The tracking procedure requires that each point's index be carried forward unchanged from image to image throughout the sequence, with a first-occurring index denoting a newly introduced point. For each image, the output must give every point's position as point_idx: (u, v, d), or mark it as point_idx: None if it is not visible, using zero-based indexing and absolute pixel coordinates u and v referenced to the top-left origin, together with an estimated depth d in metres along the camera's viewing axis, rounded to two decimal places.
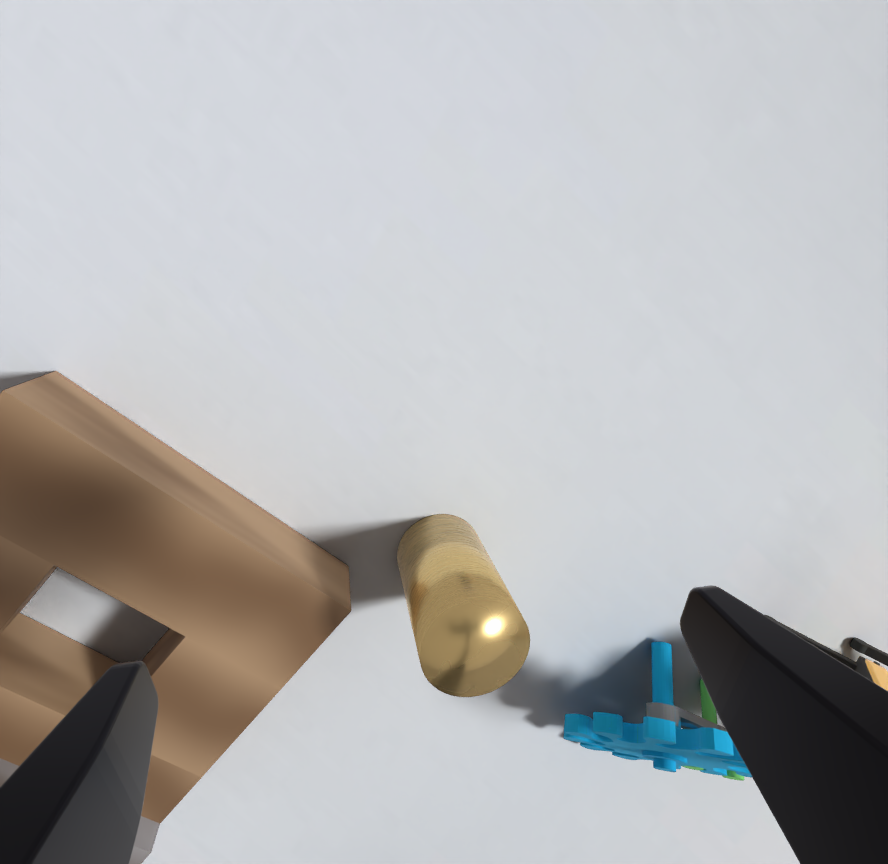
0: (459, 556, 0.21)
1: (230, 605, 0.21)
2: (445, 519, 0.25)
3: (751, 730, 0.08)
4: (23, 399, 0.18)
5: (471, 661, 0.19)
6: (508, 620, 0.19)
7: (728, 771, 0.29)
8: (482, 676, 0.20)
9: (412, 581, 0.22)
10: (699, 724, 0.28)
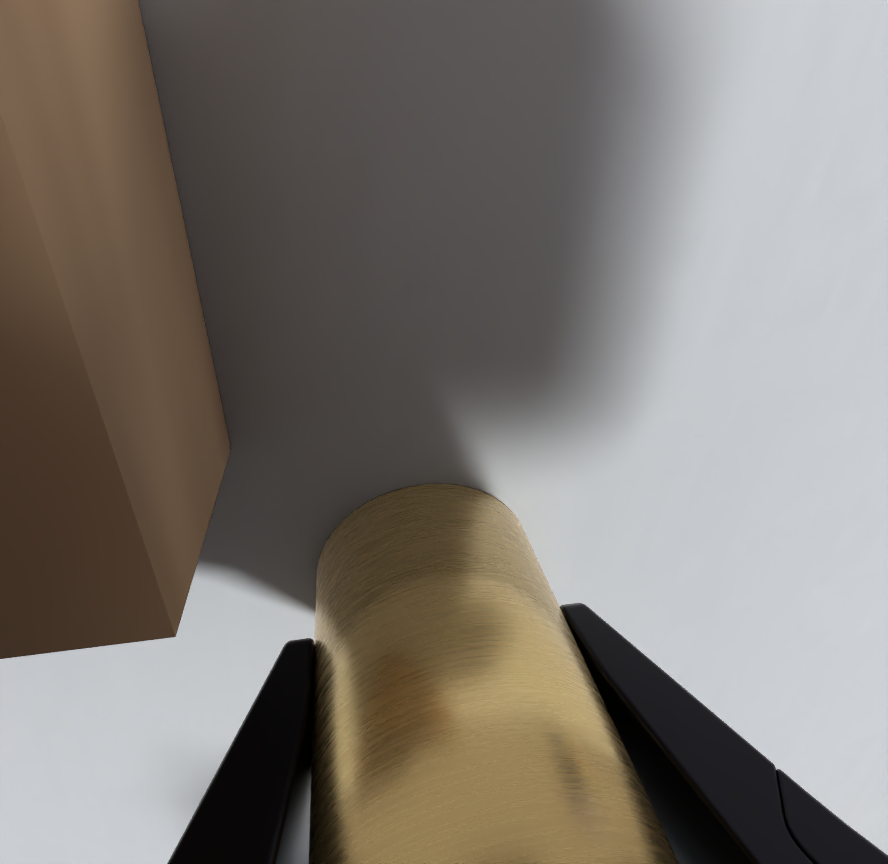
0: (601, 713, 0.06)
1: None
2: (522, 534, 0.09)
3: None
4: None
5: None
6: None
7: None
8: None
9: (432, 687, 0.06)
10: None
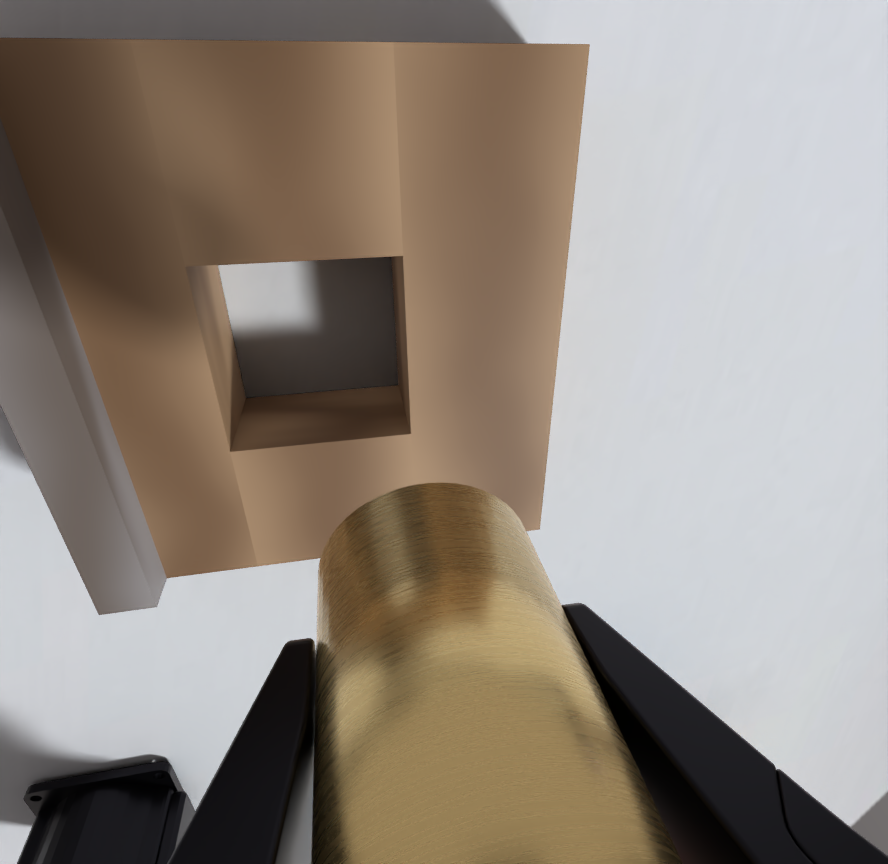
0: (604, 712, 0.06)
1: (475, 441, 0.17)
2: (524, 533, 0.09)
3: None
4: None
5: None
6: None
7: None
8: None
9: (435, 686, 0.06)
10: None
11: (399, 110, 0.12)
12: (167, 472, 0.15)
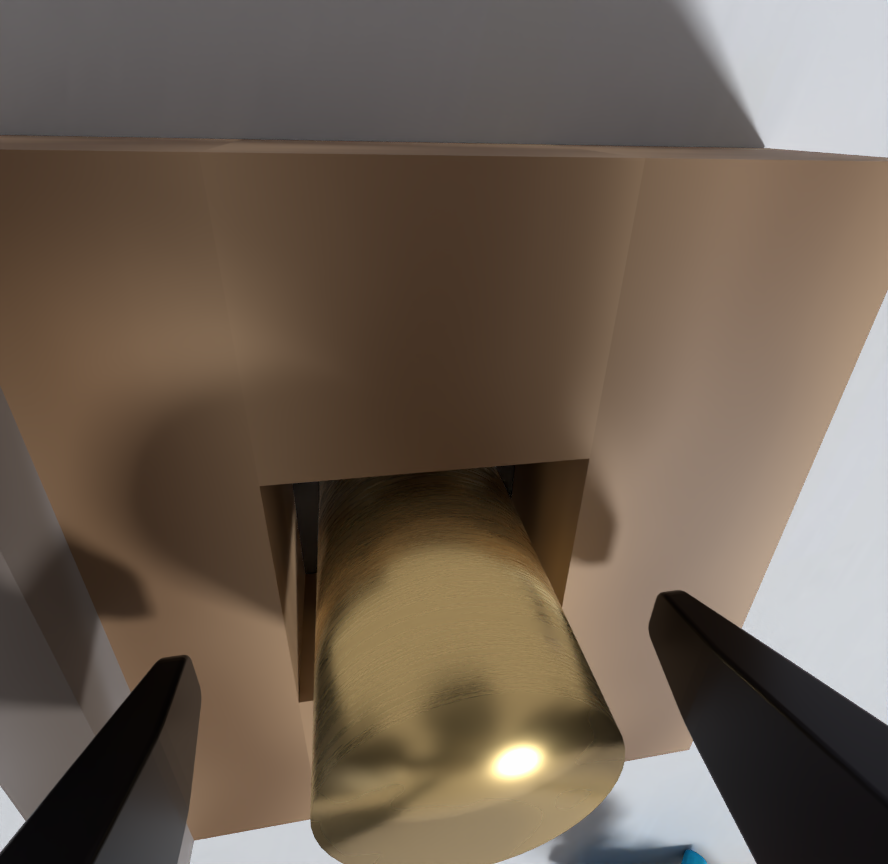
0: (526, 543, 0.09)
1: (633, 667, 0.12)
2: None
3: (714, 737, 0.08)
4: None
5: (439, 810, 0.07)
6: (587, 782, 0.07)
7: None
8: (419, 845, 0.07)
9: (403, 515, 0.09)
10: None
11: (630, 261, 0.07)
12: (206, 732, 0.11)
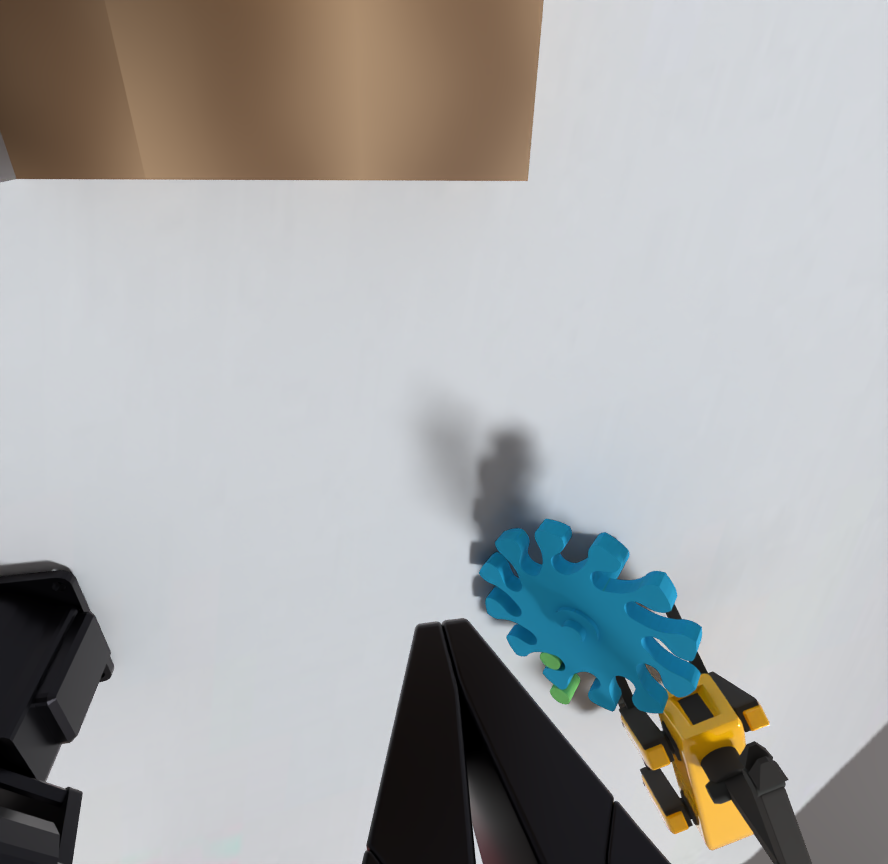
0: None
1: None
2: None
3: (469, 782, 0.08)
4: None
5: None
6: None
7: None
8: None
9: None
10: None
11: None
12: None
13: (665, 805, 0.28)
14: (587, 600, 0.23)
